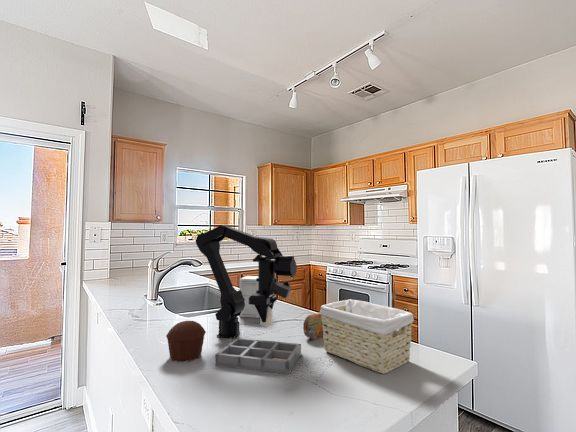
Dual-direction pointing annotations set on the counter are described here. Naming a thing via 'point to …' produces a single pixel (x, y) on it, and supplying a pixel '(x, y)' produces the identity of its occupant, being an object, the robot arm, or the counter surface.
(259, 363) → the grey compartment tray
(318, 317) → the tin
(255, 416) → the counter surface
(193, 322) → the muffin
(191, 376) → the counter surface
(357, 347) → the storage basket
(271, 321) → the egg
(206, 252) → the robot arm
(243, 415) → the counter surface
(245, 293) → the supplement box
